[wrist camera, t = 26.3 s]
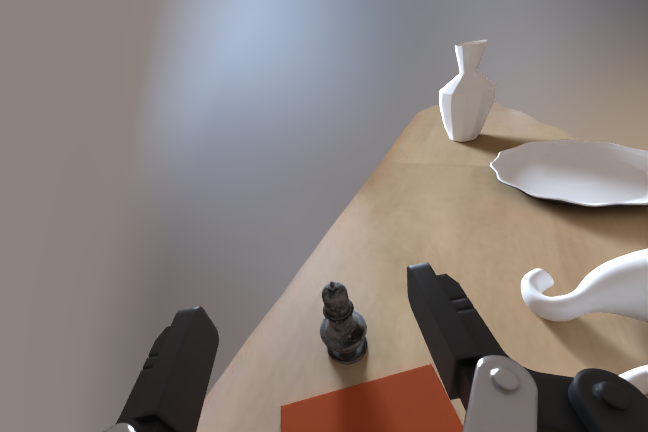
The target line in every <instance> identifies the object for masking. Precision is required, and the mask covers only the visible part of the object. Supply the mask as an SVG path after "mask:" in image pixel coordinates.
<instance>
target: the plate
mask: <svg viewBox="0 0 648 432" xmlns="http://www.w3.org/2000/svg"><path fill="white" fill-rule="evenodd" d="M490 167H491V168H492V169H493V170H494V171H495V172H496V175H497V178H498V180H499V181H500V182H501V183H503V184H506V185H509V186H512V187H514V188H517V189H519V190H520V191H522V192H524V193H526V194H528V195H529V196H532V197H535V198H539V199H543V200H547V201H551V202H556V203H560V204H567V205H575V206H583V207H610V206H646V205H648V151H645V150H639V149H634V148H628V147H624V146H621V145H617V144H614V143H609V142H595V141H594V142H593V141H578V140H568V139H561V140H553V141H546V142H529V143H524V144H522V145H520V146H517V147H515V148H511V149H507V150H503V151H501V152H499V154H498V156H497V158H496V159H495V160H494V161H493V162H491V163H490Z"/></svg>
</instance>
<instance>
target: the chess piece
mask: <svg viewBox="0 0 648 432" xmlns="http://www.w3.org/2000/svg"><path fill="white" fill-rule="evenodd" d="M322 298H323V302H324V308H323V314H324V316H325V319H324V320H323V322H322V324H321V327H320V335H321V338H322V341H323V342H324V343H325V345H326V346H327V349H328V352H329V355H330V356H331V357H332V359H333V360H335V361H336V362H338V363H341V364H352V363H355V362H357V361H358V360H360V359H361V358H362V357H363V355H364V354H365V352H366V349H367V341H366V337H365V335H366V328H367V326H366V323H365V320H364V318H363V317H362V316H361V315H360V314H359V313H358V312H356V311H354V310H353V309H354V307H353V304H352V302H351V301H350V300H349V299H348V294H347V290H346V288H345V286H344V285H343V284H341V283H338V282H332V281H331V282H330V283H329V284H327V285H326V286H325V287H324V288H323V290H322Z"/></svg>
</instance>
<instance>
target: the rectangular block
mask: <svg viewBox="0 0 648 432" xmlns="http://www.w3.org/2000/svg"><path fill="white" fill-rule="evenodd" d="M281 423H282V432H462V430H463V426H462V424H461V422H460V420H459V418H458V416H457V414H456V412H455V410H454V408H453V406H452V404H451V402H450V400H449V398H448V396H447V394H446V392H445V390H444V388H443V386H442V384H441V382H440V380H439V378H438V376H437V374H436V372H435V370H434V368H433V367H432V365H431V364H430V365H426V366H423V367H419V368H415V369H412V370H408V371H405V372H401V373H398V374H394V375H391V376H387V377H383V378H380V379H376V380H373V381H369V382H366V383H362V384H358V385H355V386H351V387H348V388H344V389H341V390H337V391H333V392H330V393H326V394H323V395H319V396H316V397H312V398H309V399H305V400H301V401H298V402H294V403H291V404H287V405H284V406H281Z"/></svg>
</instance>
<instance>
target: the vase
mask: <svg viewBox="0 0 648 432" xmlns="http://www.w3.org/2000/svg"><path fill="white" fill-rule="evenodd" d="M487 41H488V40H477V41H470V42H465V43H461V44H457V45H455V49H456V54H457V59H458V64H459V69H460V74H459V75H457V76H456V77H455V78H454V79H453V80H452V81H450V82H449V83H448V84H447V85H446V86H444V87H443V88H442V89H441V90H440V97H439V102H440V110H441V114H442V118H443V122H444V126H445V129H446V131H447V133H448V136H449V138H450V140H453V141H458V142H465V141H470V140H473V139H476V138H477V136H478V135H479V133H480V131H481V129H482V127H483V125H484V122H485V120H486V118H487V116H488V113H489V111H490V109H491V107H492V104H493V100H494V97H495V90H496V84H495V83H493V82H492V81H490V80H489V79H487V78H486V77H484V76H483V75H482V74H480V73H479V72H477V68H478V66H479V63H480V60H481V58H482V55H483V52H484V50H485V47H486V44H487Z"/></svg>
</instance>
